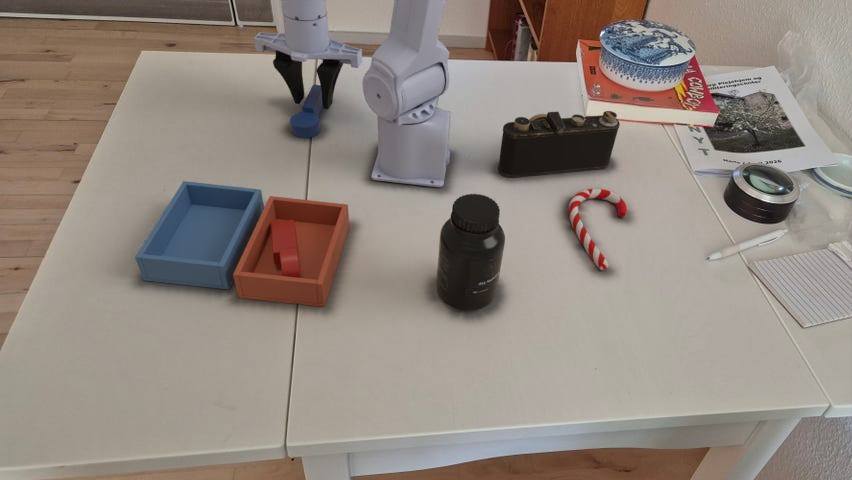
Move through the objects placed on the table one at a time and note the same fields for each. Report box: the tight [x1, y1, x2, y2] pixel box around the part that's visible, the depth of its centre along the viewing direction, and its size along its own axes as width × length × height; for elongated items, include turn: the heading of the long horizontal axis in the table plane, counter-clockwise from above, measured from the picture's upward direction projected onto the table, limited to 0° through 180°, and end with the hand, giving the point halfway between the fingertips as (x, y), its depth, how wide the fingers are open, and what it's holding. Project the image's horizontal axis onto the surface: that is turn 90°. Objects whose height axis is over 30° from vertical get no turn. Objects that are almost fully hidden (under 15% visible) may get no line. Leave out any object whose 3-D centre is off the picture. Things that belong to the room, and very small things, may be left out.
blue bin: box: [134, 180, 265, 290], centre depth 75 cm, size 9×13×4 cm
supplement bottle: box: [435, 193, 506, 312], centre depth 71 cm, size 7×7×12 cm
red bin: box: [233, 195, 350, 308], centre depth 75 cm, size 9×13×4 cm
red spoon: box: [271, 220, 301, 278], centre depth 74 cm, size 10×4×3 cm
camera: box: [497, 110, 621, 179], centre depth 92 cm, size 16×7×8 cm, turn 106°
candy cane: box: [568, 188, 628, 271], centre depth 84 cm, size 8×1×15 cm
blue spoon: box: [289, 84, 323, 139], centre depth 96 cm, size 10×4×3 cm, turn 176°
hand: (313, 103), depth 97 cm, fingers open, 4 cm apart
